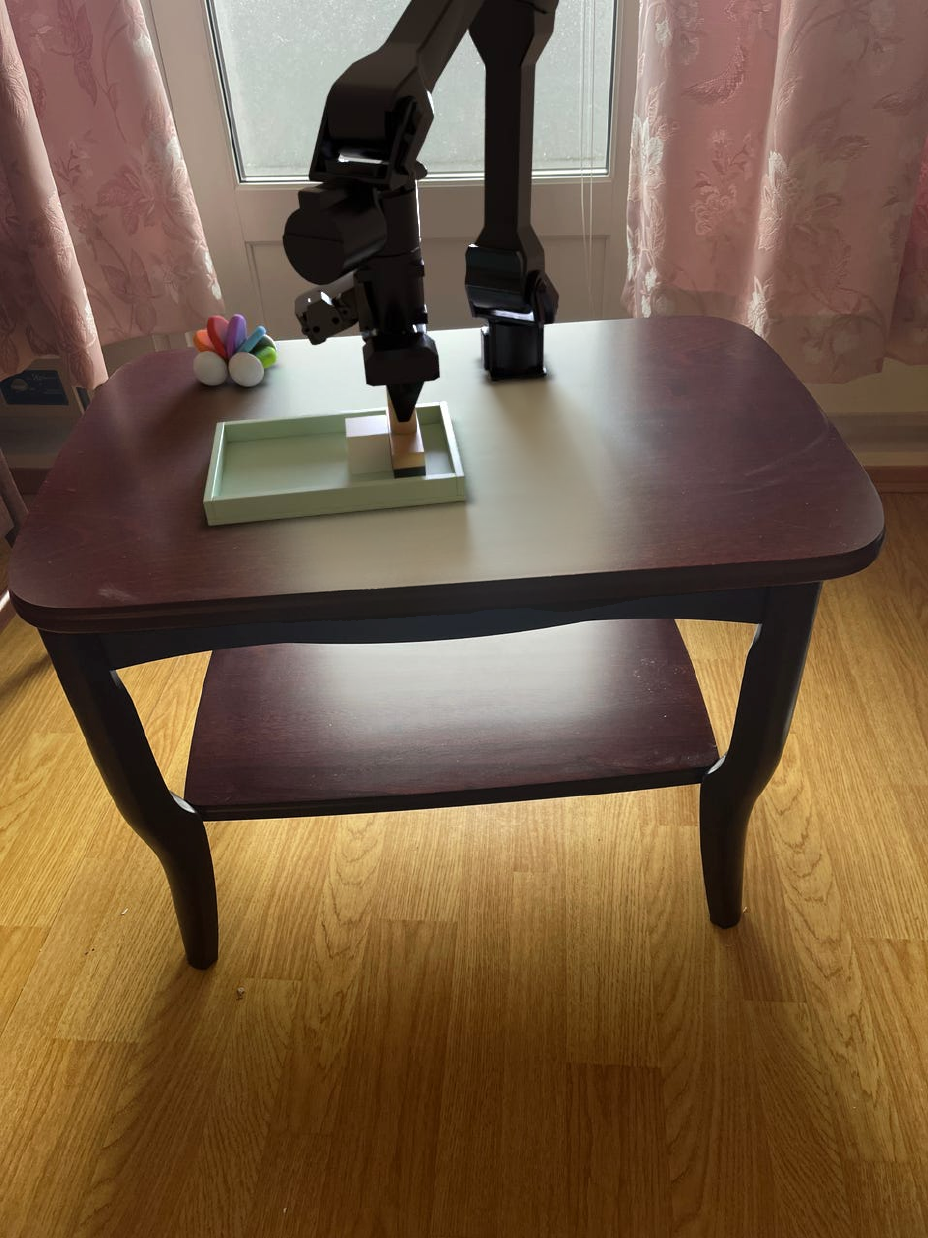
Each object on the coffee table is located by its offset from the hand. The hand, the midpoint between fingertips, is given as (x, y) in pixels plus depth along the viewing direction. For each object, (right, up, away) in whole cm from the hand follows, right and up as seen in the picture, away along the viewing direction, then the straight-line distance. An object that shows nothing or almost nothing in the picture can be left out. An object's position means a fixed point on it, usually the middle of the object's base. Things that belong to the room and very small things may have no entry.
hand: (402, 414), depth 90 cm
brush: (0, -4, +3) cm, 4 cm away
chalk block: (-3, -4, +3) cm, 6 cm away
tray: (-7, -5, +3) cm, 9 cm away
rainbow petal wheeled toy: (-21, +9, +22) cm, 31 cm away
